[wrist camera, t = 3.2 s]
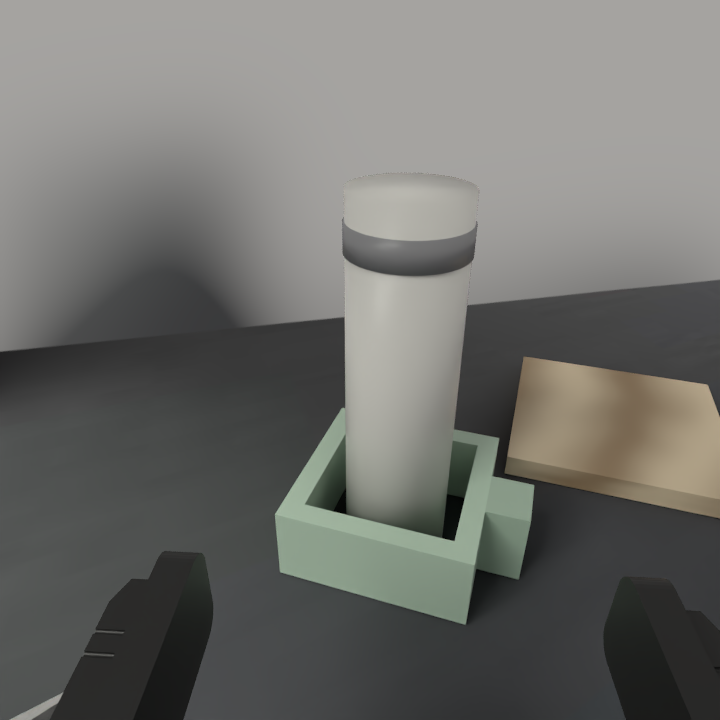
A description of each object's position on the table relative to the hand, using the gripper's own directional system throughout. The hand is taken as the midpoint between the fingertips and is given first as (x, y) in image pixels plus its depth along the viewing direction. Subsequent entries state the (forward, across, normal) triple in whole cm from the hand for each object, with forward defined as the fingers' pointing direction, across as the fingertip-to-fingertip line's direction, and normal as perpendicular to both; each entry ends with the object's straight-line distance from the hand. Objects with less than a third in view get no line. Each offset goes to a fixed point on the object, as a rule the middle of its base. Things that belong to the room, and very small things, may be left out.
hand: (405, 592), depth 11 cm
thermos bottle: (+10, 0, +8) cm, 13 cm away
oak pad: (+17, -11, +8) cm, 22 cm away
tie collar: (+10, 0, +8) cm, 13 cm away
